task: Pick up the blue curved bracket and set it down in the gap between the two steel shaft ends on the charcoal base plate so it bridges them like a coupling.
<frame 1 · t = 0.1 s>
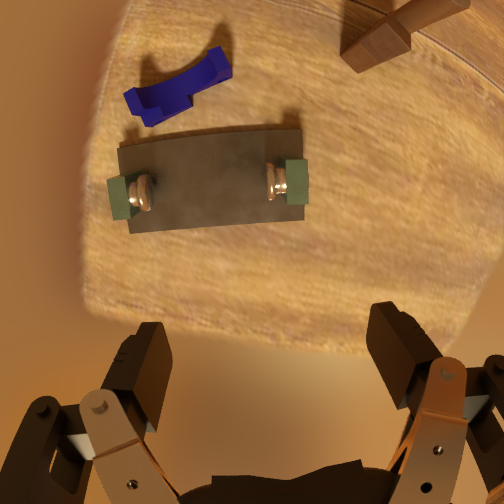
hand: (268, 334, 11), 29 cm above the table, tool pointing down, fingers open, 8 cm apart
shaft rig: (209, 180, 37), on the table
blue curved bracket: (187, 92, 33), on the table
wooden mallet: (370, 45, 30), on the table
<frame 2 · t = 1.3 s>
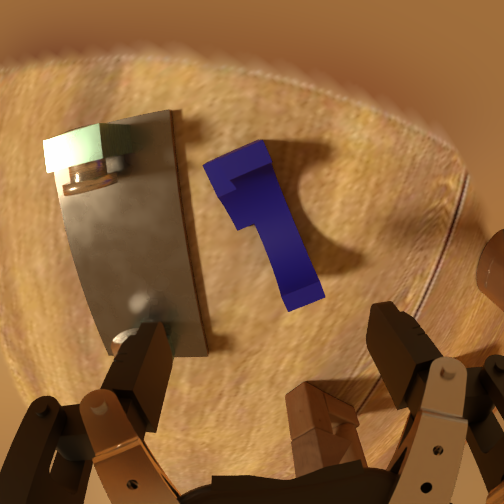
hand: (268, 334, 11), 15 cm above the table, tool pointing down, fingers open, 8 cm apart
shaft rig: (127, 253, 26), on the table
blue curved bracket: (261, 214, 25), on the table
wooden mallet: (321, 400, 34), on the table
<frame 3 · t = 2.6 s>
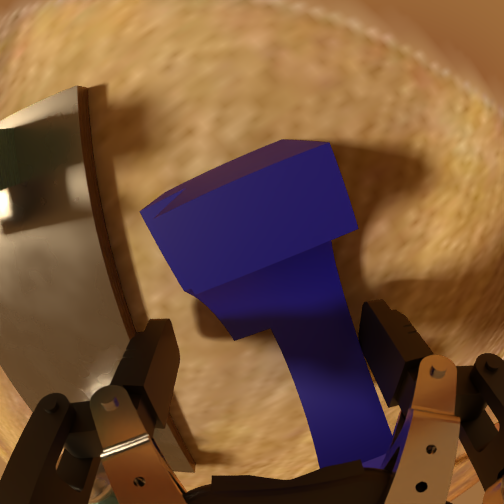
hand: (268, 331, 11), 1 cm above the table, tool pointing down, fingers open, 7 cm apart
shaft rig: (52, 348, 13), on the table
blue curved bracket: (283, 298, 12), on the table, touching gripper
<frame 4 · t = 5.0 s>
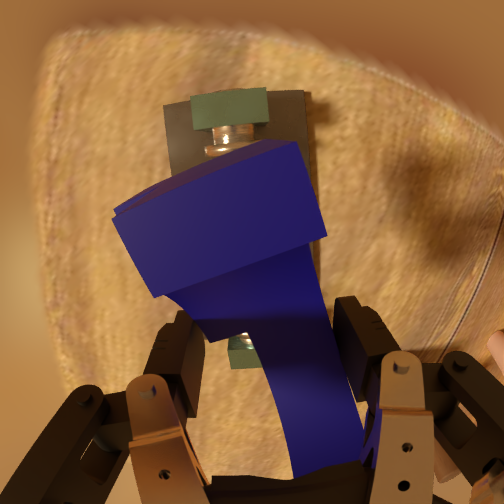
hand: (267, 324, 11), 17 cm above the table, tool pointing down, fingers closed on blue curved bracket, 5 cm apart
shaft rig: (246, 226, 27), on the table
smoothie: (493, 338, 34), on the table
blue curved bracket: (263, 301, 12), point 16 cm above the table, touching gripper
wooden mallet: (397, 373, 35), on the table
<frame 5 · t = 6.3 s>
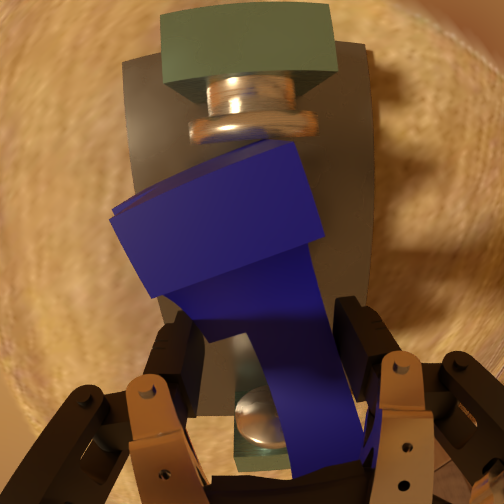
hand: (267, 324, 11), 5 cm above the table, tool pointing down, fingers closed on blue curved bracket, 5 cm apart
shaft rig: (262, 269, 16), on the table
blue curved bracket: (262, 301, 12), point 4 cm above the table, touching gripper
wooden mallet: (431, 424, 25), on the table
when the fingers open (3 cm above the table, at t = 7.0 s): blue curved bracket drops 1 cm, resting on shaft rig.
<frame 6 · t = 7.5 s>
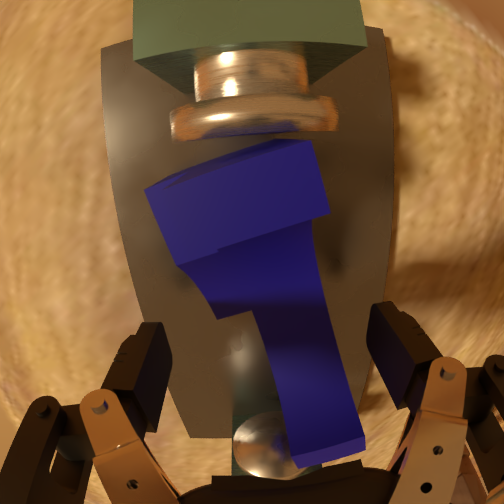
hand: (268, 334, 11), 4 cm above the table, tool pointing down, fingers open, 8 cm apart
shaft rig: (262, 287, 14), on the table
blue curved bracket: (266, 285, 13), point 1 cm above the table, touching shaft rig
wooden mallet: (437, 437, 23), on the table
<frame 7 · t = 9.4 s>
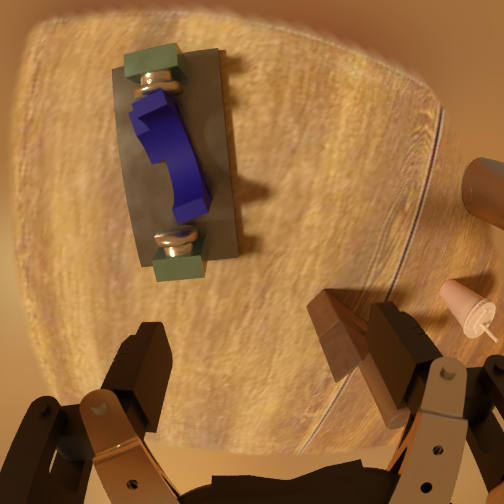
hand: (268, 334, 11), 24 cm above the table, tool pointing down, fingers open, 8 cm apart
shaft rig: (173, 159, 30), on the table
smoothie: (447, 288, 40), on the table
blue curved bracket: (174, 155, 30), point 1 cm above the table, touching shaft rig
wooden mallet: (338, 315, 40), on the table
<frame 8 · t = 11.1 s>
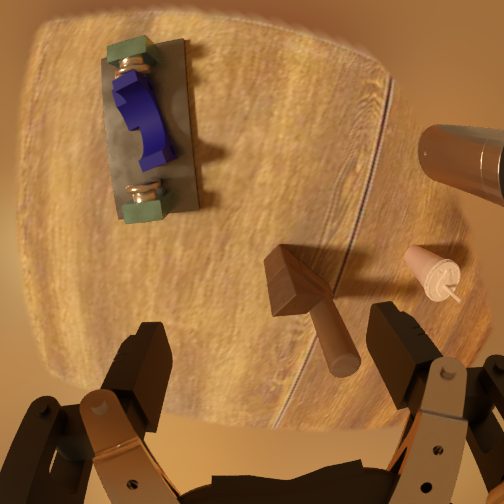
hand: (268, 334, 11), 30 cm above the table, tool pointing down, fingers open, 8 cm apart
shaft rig: (147, 128, 35), on the table
smoothie: (412, 255, 43), on the table
blue curved bracket: (147, 124, 34), point 1 cm above the table, touching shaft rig
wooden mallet: (297, 272, 44), on the table
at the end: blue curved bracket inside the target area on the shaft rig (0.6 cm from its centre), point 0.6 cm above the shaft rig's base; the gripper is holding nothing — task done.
